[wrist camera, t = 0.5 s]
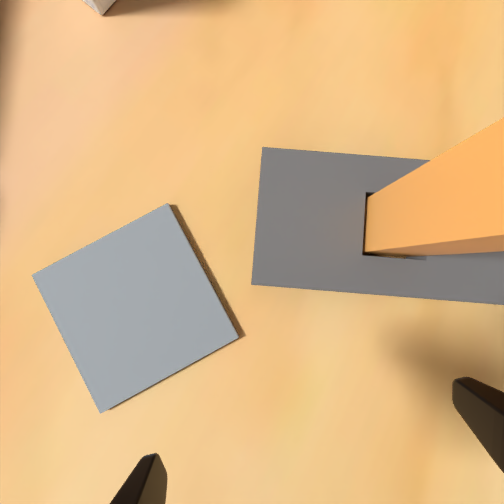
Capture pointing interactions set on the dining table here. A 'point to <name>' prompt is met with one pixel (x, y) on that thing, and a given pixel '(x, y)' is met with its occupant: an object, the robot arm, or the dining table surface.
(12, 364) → the dining table surface
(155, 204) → the dining table surface
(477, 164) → the plug
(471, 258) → the grey square-hole plate
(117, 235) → the mat
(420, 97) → the dining table surface
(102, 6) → the light bulb box
